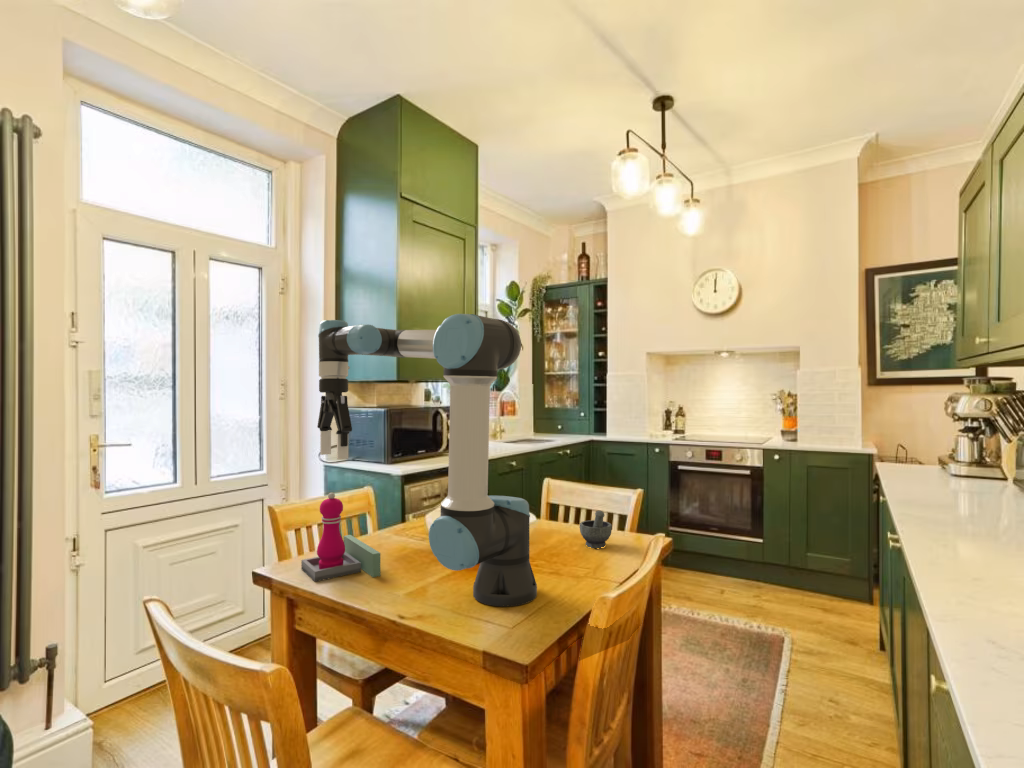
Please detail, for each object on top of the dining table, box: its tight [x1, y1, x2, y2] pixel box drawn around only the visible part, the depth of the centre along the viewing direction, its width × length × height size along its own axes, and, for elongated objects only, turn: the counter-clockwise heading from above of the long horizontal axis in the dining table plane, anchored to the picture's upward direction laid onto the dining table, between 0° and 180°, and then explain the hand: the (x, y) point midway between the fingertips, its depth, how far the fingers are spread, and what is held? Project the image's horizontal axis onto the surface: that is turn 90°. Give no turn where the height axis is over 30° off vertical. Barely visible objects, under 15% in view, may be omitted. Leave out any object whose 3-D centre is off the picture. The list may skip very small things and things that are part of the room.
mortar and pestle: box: [579, 510, 613, 548], centre depth 165 cm, size 11×9×12 cm
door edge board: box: [343, 534, 381, 578], centre depth 148 cm, size 22×2×6 cm, turn 37°
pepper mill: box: [316, 492, 345, 569], centre depth 144 cm, size 7×7×20 cm
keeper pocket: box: [300, 552, 362, 582], centre depth 144 cm, size 12×12×2 cm
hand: (333, 456), depth 144 cm, fingers open, 13 cm apart
